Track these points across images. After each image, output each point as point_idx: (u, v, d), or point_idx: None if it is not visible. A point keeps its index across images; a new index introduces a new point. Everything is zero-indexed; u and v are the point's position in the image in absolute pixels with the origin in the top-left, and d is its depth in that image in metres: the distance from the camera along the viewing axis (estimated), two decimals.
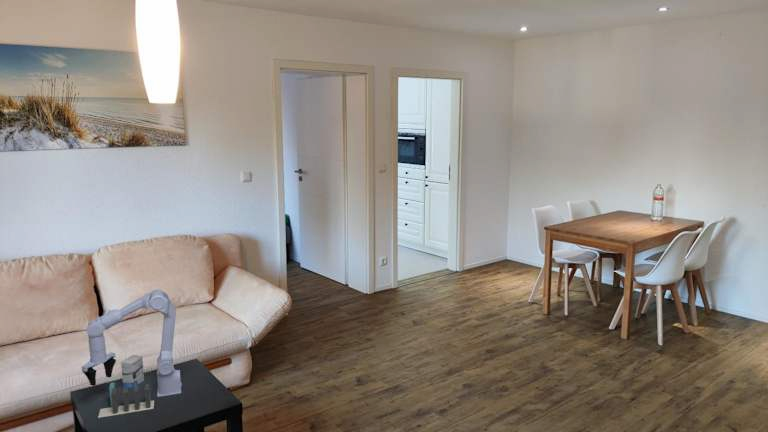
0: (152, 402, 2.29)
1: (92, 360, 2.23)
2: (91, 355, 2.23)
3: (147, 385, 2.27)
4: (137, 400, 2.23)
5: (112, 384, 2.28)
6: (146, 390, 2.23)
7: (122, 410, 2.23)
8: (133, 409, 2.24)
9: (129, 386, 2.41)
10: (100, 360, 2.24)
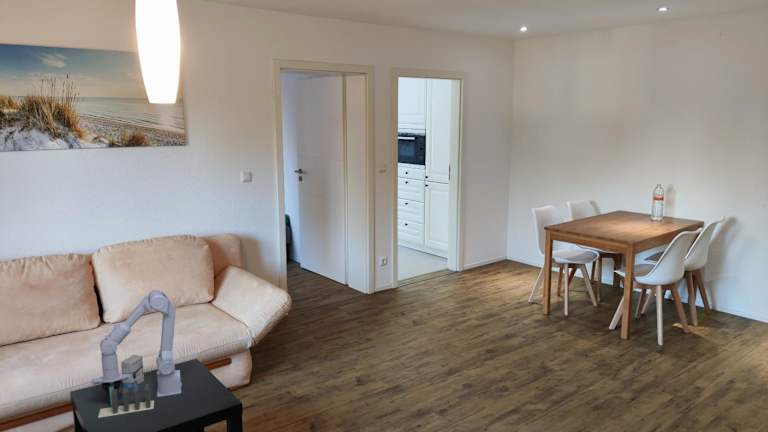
0: (152, 402, 2.29)
1: (103, 376, 2.26)
2: None
3: (147, 385, 2.27)
4: (137, 400, 2.23)
5: (112, 384, 2.28)
6: (146, 390, 2.23)
7: (122, 410, 2.23)
8: (133, 409, 2.24)
9: (129, 386, 2.41)
10: (106, 379, 2.24)
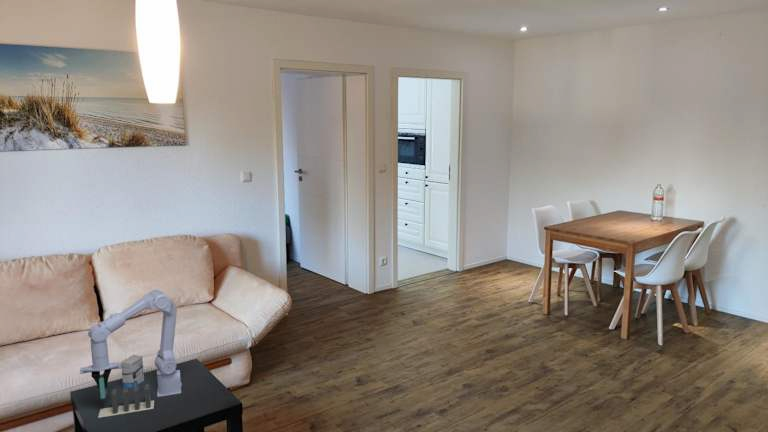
0: (152, 402, 2.29)
1: None
2: None
3: (147, 385, 2.27)
4: (137, 400, 2.23)
5: (102, 375, 2.22)
6: (146, 390, 2.23)
7: (122, 410, 2.23)
8: (133, 409, 2.24)
9: (129, 386, 2.41)
10: (96, 367, 2.17)
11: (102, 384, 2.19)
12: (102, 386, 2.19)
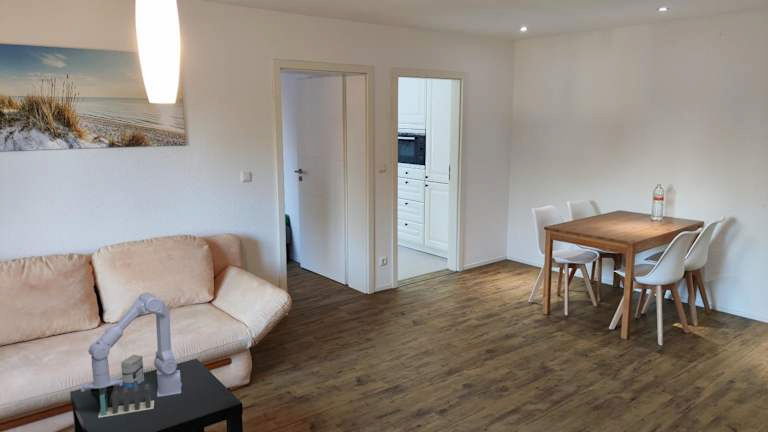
0: (152, 402, 2.29)
1: None
2: None
3: (147, 385, 2.27)
4: (137, 400, 2.23)
5: (103, 392, 2.21)
6: (146, 390, 2.23)
7: (122, 410, 2.23)
8: (133, 409, 2.24)
9: (129, 386, 2.41)
10: (97, 385, 2.17)
11: (103, 401, 2.18)
12: (103, 403, 2.18)
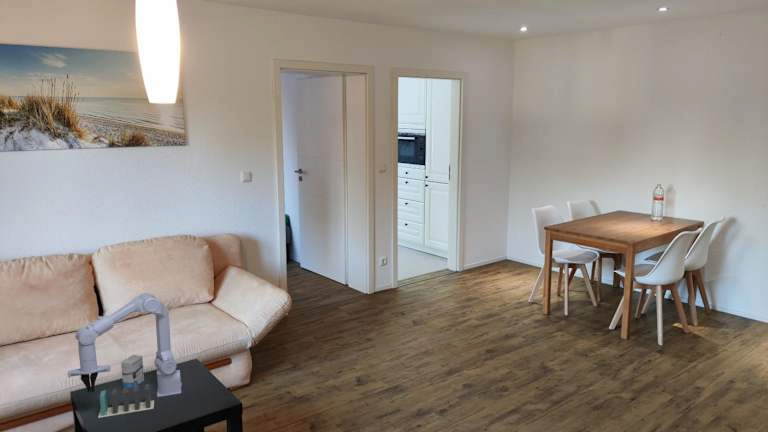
0: (152, 402, 2.29)
1: None
2: None
3: (147, 385, 2.27)
4: (137, 400, 2.23)
5: (103, 392, 2.21)
6: (146, 390, 2.23)
7: (122, 410, 2.23)
8: (133, 409, 2.24)
9: (129, 386, 2.41)
10: (84, 370, 2.14)
11: (103, 401, 2.18)
12: (103, 403, 2.18)
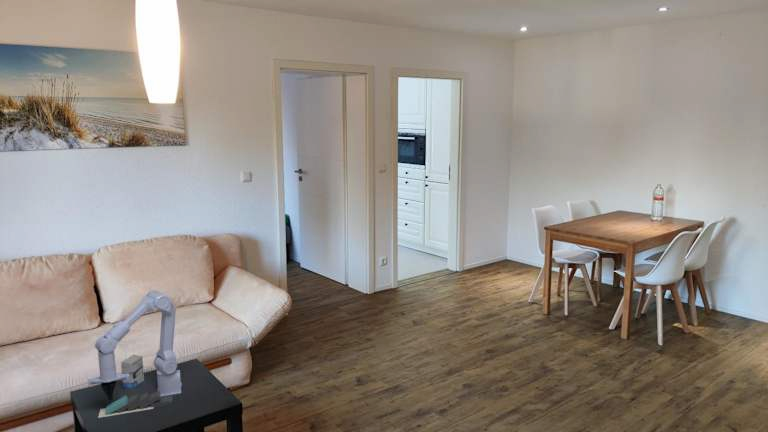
0: None
1: None
2: None
3: (172, 398, 2.31)
4: (150, 403, 2.24)
5: (126, 398, 2.24)
6: (171, 402, 2.27)
7: None
8: (133, 409, 2.24)
9: (129, 386, 2.41)
10: (103, 379, 2.17)
11: (120, 406, 2.21)
12: (118, 407, 2.21)
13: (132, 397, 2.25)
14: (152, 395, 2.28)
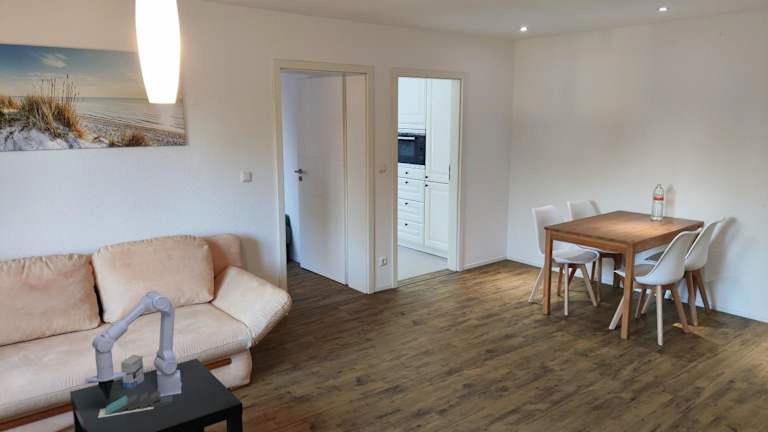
0: None
1: None
2: None
3: (172, 398, 2.31)
4: (150, 403, 2.24)
5: (126, 398, 2.24)
6: (171, 402, 2.27)
7: None
8: (133, 409, 2.24)
9: (129, 386, 2.41)
10: (101, 378, 2.17)
11: (120, 406, 2.21)
12: (118, 407, 2.21)
13: (132, 397, 2.25)
14: (152, 395, 2.28)
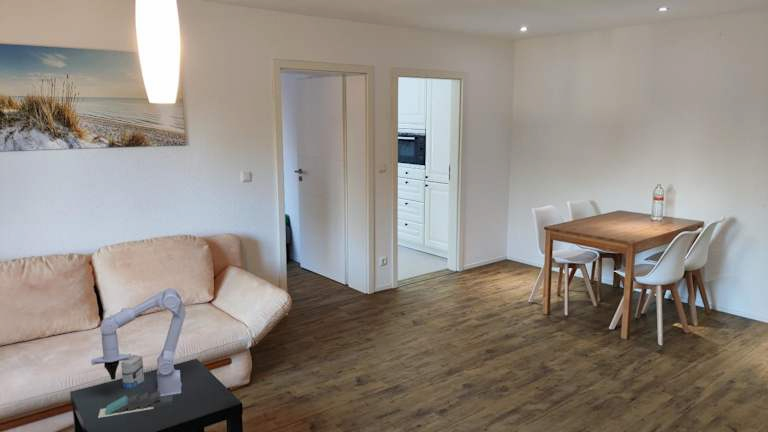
0: None
1: (103, 356, 2.27)
2: None
3: (172, 398, 2.31)
4: (150, 403, 2.24)
5: (126, 398, 2.24)
6: (171, 402, 2.27)
7: None
8: (133, 409, 2.24)
9: (129, 386, 2.41)
10: (107, 358, 2.25)
11: (120, 406, 2.21)
12: (118, 407, 2.21)
13: (132, 397, 2.25)
14: (152, 395, 2.28)
